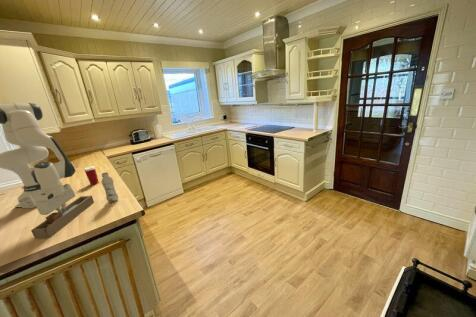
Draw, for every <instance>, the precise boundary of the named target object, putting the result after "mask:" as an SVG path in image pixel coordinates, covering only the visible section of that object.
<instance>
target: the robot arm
mask: <svg viewBox="0 0 476 317" xmlns="http://www.w3.org/2000/svg"><path fill="white" fill-rule="evenodd" d="M43 114H44V113H43V110H42V108H41V107H40V106H39V105H38V104H36V103H31V102H29V103H25V102H21V103H20V102H13V103H1V104H0V125H1V126H2V129H3V134H4V137H5V140H6V142H7V143H9V144H11V145H14V146H19V147H20V148H16V149H12V150H7V151H4V152H1V153H0V169H2V170H6V171H11V172H13V173H14V174H16V175H17V176H18V177H19V178H20V181H21V183H22V184H23V186H21V187H20V188H21V189H23V192H22V193H20V195H19V196H17V201H18V203H16V205H14V208H15V207H22V208H21V209H33V208H36V209H37V211H38V213H39V215H41V216H46V215H47V216H49V215H50V214H52V213H53V212H54V211H56V212H61V213H63V212H64V211H66V209H65V207H66V206H67V204H66V203H67V202H69V201H70V200H73V198H75V197H76V193H75V191H74V189H73V188H72V187H71V184H69V183H65V184H63V183H62V181H61V179H67V178H70V177H72V176H74V175H75V173H76V167H75V165H74V164H73V162H72V161H71V160H70V159H69V157H67V154H66V153H65V152H64V150H63V149H62V147H61V145H60V144H59V143H58V142H57V140H56V139H55V137H53V136H52V135H49V134H47V133H45V131H44V130H43V129H42V126H41V125H40V123H39V121H41V120H42V119H43V116H44V115H43ZM48 149H50V150H51V151H52V153H54V154H55V156H56V157H57V159H58V160H59V161H58V162H54V163H53V162H51V161H43V160H45V159H47V158H48V157H49V150H48ZM41 161H42V162H41ZM37 162H38V163H37ZM33 163H36V164H34V166H33V167H30V166H29V165H30V164H33Z"/></svg>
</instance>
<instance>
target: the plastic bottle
mask: <svg viewBox="0 0 476 317" xmlns="http://www.w3.org/2000/svg"><path fill="white" fill-rule="evenodd" d="M101 177H102V178H101V182H100V183H101V184H102V187H103V189H104V191H105V196H106V201H107V202H108V203H114V202H117V201H118V200H119V195H118V193H117V191H116V188H115V184H114V179H113V178H112V177H111V176H110V174H109V172H102V173H101Z"/></svg>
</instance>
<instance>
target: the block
mask: <svg viewBox="0 0 476 317" xmlns="http://www.w3.org/2000/svg"><path fill="white" fill-rule="evenodd" d="M60 217H62V214H61V212H58V211H56V212H51V213H49V214H48V215H47V216H45V220H47V222H48V224H49V225H51V224H52V223H53V222H55V221H56V220H58V219H59V218H60Z"/></svg>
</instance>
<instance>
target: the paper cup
mask: <svg viewBox="0 0 476 317" xmlns="http://www.w3.org/2000/svg"><path fill="white" fill-rule="evenodd" d="M83 171H84V172H85V175H86V176H87V177H86V178H87V180H88V181H89V184H90V185H91V186H95V185H97V184H99V183H100V181H99V178H98V174H97V170H96V166H94V165H93V166H92V165H91V166H87V167H85V168H84V170H83Z"/></svg>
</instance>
